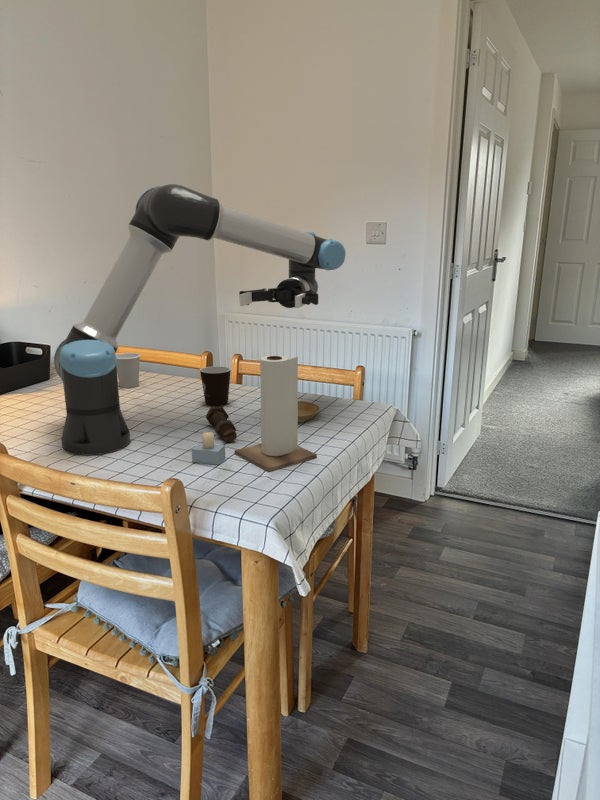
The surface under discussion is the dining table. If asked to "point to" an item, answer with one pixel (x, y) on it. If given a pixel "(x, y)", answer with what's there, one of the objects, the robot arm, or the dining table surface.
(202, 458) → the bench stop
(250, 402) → the dining table surface
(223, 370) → the coffee mug
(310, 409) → the plant saucer
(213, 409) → the dark brown knobby rod
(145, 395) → the dining table surface
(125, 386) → the dixie cup
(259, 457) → the board
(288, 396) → the paper towel roll
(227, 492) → the dining table surface
